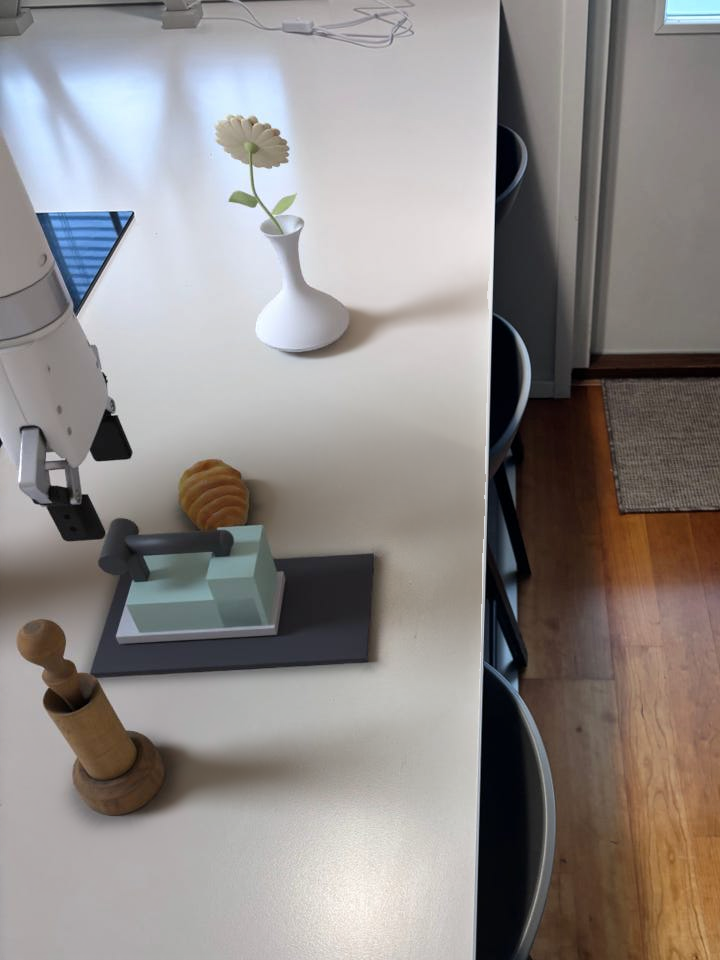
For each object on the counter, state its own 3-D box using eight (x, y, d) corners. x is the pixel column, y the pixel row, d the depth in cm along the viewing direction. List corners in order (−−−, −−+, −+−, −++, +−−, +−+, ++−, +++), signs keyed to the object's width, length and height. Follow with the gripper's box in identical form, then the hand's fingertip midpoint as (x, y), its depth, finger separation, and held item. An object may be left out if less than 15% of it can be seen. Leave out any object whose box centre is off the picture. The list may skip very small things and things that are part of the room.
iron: (119, 644, 86) (80, 566, 79) (135, 587, 91) (100, 509, 84) (277, 635, 86) (252, 556, 79) (285, 578, 91) (262, 499, 84)
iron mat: (91, 677, 85) (89, 673, 85) (124, 572, 94) (122, 567, 93) (367, 662, 84) (366, 657, 84) (374, 557, 93) (373, 552, 93)
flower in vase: (370, 325, 120) (336, 108, 102) (310, 371, 114) (262, 149, 96) (291, 299, 126) (245, 88, 107) (229, 342, 120) (169, 126, 101)
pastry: (266, 529, 96) (257, 500, 94) (199, 553, 95) (188, 523, 92) (239, 476, 102) (230, 447, 99) (176, 497, 101) (165, 468, 98)
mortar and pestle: (64, 791, 77) (-40, 639, 64) (125, 733, 81) (39, 578, 67) (121, 830, 75) (26, 680, 61) (182, 769, 78) (105, 615, 65)
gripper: (-8, 241, 71) (81, 434, 84) (-94, 376, 60) (23, 576, 73) (94, 233, 71) (167, 427, 84) (27, 367, 60) (123, 569, 72)
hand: (100, 496), depth 78 cm, fingers open, 9 cm apart
